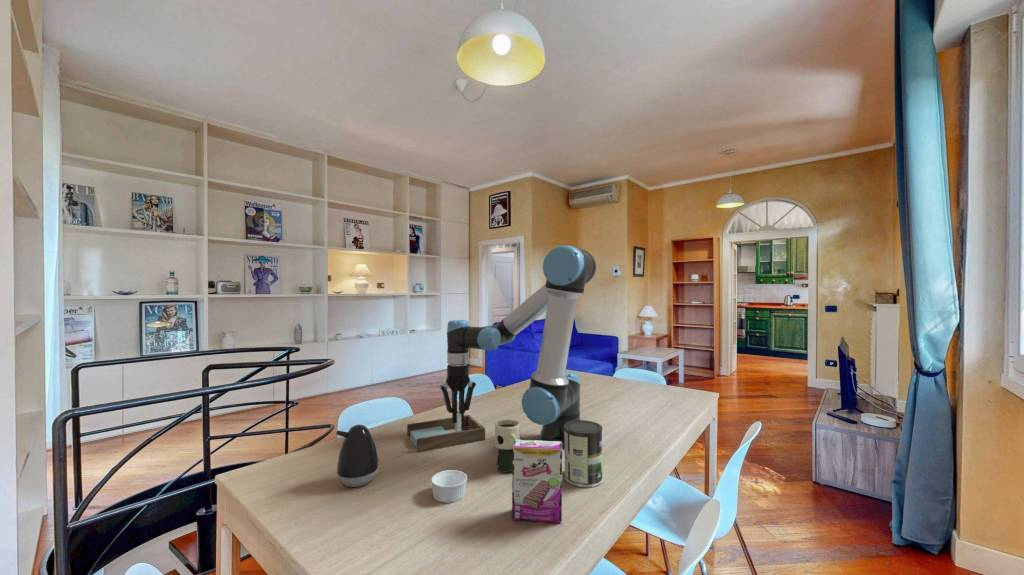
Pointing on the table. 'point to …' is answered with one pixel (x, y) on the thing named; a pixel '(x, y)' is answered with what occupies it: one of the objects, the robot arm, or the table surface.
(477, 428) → the walnut box
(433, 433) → the cover plate
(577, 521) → the table surface
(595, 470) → the coffee can
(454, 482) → the ramekin
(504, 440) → the character mug
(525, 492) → the candy bar box
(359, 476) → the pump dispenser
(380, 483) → the table surface
